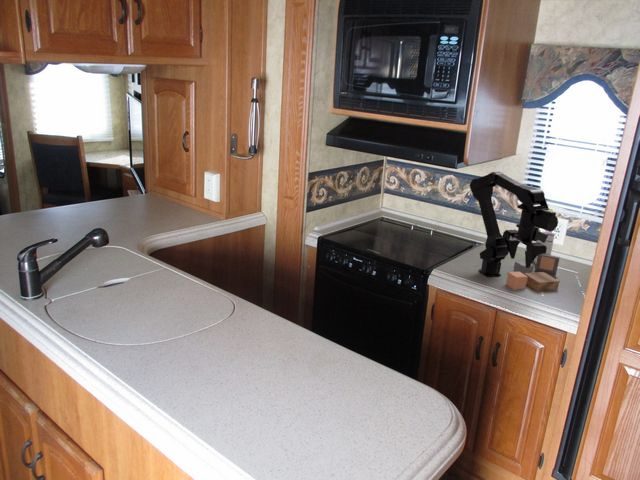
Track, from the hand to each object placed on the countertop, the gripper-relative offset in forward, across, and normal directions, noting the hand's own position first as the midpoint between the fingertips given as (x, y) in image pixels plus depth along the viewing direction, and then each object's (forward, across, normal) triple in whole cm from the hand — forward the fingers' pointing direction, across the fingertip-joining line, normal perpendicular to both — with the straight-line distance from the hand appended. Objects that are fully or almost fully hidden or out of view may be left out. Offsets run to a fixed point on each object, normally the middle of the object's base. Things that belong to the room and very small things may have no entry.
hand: (519, 263), depth 205 cm
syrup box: (+10, +21, -27) cm, 35 cm away
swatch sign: (+9, +9, -20) cm, 24 cm away
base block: (+10, -1, -10) cm, 14 cm away
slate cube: (+10, +10, -10) cm, 17 cm away
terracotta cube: (+10, 0, 0) cm, 10 cm away
